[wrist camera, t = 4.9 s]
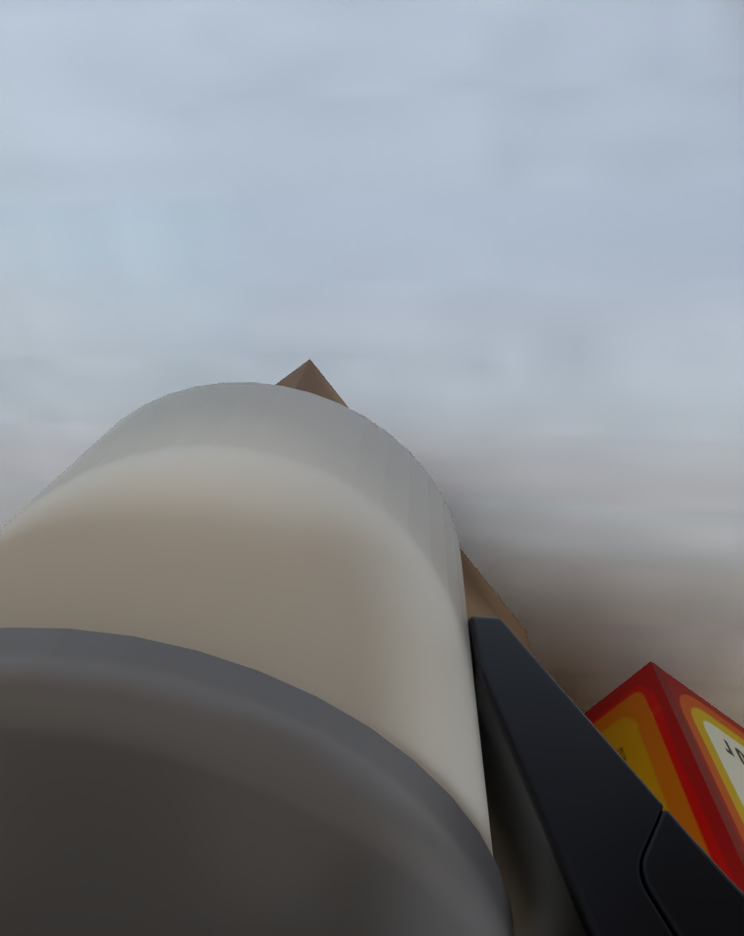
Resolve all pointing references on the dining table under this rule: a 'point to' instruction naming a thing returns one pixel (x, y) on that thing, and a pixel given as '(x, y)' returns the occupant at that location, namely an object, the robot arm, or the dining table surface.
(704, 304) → the dining table surface
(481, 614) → the walnut block
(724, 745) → the baking soda box
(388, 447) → the ceramic jar
